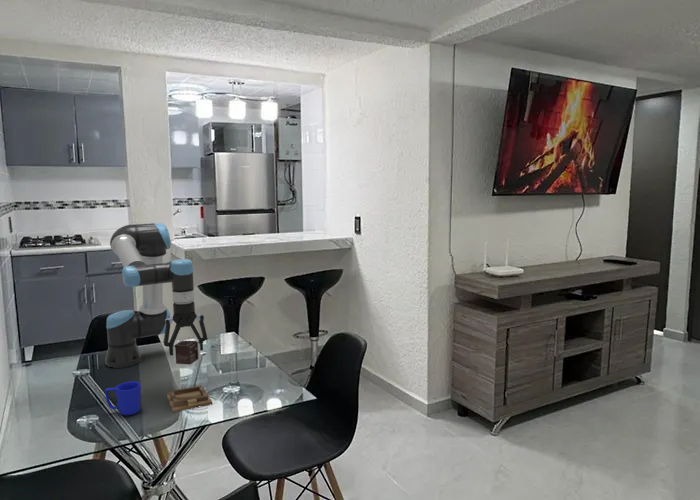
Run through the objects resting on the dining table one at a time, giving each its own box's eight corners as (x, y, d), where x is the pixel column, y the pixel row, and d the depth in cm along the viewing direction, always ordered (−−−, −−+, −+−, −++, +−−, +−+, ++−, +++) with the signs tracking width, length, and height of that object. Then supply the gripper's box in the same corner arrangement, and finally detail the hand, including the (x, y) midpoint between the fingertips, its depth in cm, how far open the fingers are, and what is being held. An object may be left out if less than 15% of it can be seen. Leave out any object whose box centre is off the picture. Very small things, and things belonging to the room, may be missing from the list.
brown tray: (166, 395, 199) (166, 389, 198) (203, 388, 205) (203, 382, 205) (172, 412, 185) (172, 405, 184) (212, 404, 191) (212, 397, 191)
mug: (111, 408, 188) (109, 382, 187) (145, 406, 189) (143, 380, 188) (102, 418, 180) (100, 391, 179) (138, 416, 181) (136, 389, 180)
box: (190, 365, 189) (189, 346, 188) (175, 364, 191) (174, 345, 190) (198, 359, 195) (197, 340, 194) (183, 358, 197) (182, 339, 196)
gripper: (154, 307, 182) (158, 369, 185) (214, 300, 191) (217, 359, 194) (152, 303, 188) (155, 362, 191) (210, 296, 198) (212, 353, 201)
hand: (186, 361), depth 193 cm, fingers closed on box, 8 cm apart
